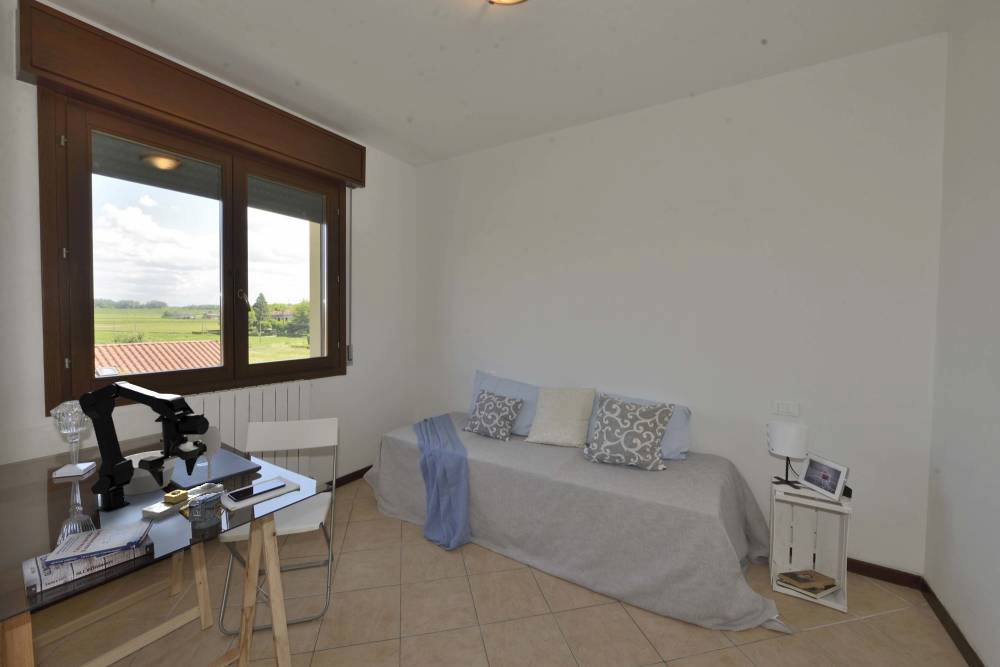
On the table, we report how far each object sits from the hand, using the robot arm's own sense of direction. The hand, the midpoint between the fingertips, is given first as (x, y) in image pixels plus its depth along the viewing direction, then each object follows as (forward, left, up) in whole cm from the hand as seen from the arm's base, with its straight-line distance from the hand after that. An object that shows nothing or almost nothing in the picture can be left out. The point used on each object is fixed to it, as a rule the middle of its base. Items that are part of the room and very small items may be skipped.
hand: (175, 480), depth 143 cm
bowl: (-28, +9, -9) cm, 31 cm away
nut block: (0, 0, -9) cm, 9 cm away
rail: (0, +3, -9) cm, 10 cm away
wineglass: (-9, +19, -9) cm, 23 cm away
